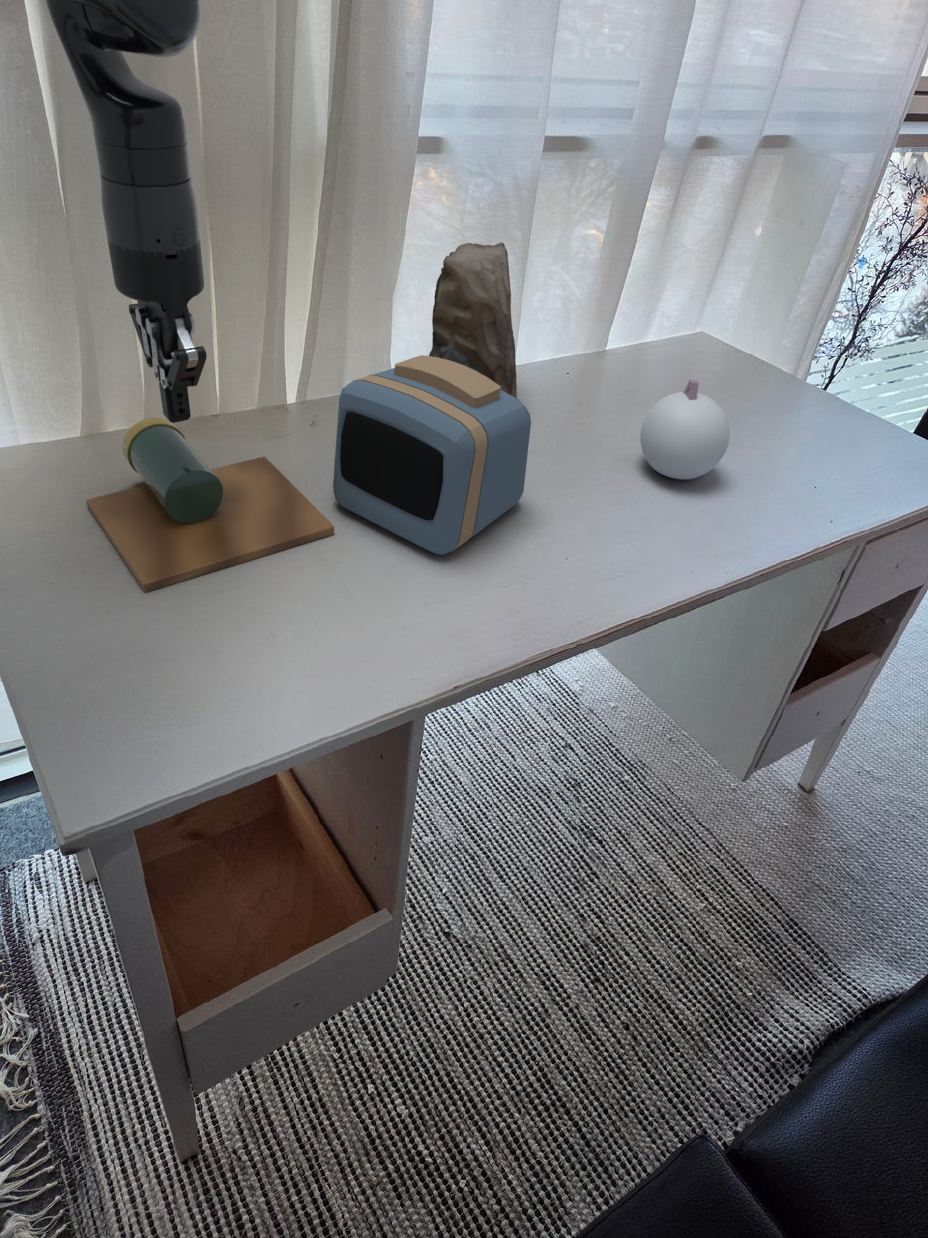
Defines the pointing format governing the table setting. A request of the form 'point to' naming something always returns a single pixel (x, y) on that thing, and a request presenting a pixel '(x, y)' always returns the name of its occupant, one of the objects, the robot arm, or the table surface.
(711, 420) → the ornament
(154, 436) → the jar
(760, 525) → the table surface
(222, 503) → the cork mat
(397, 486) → the alarm clock
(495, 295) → the jagged brown rock
